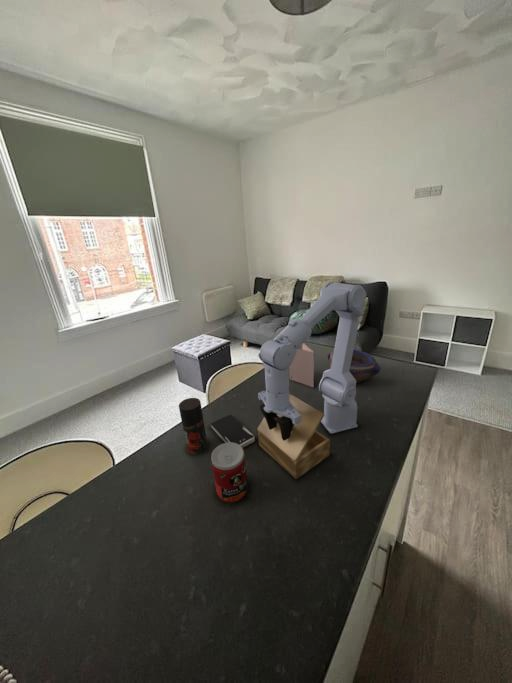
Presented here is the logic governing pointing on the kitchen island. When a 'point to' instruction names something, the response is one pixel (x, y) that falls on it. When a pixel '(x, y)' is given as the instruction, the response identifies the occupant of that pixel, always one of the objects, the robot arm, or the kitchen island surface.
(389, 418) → the kitchen island surface
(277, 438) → the lid
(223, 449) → the canned food
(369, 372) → the bowl
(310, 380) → the greeting card
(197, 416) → the deodorant
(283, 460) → the compartment
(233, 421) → the smartphone
